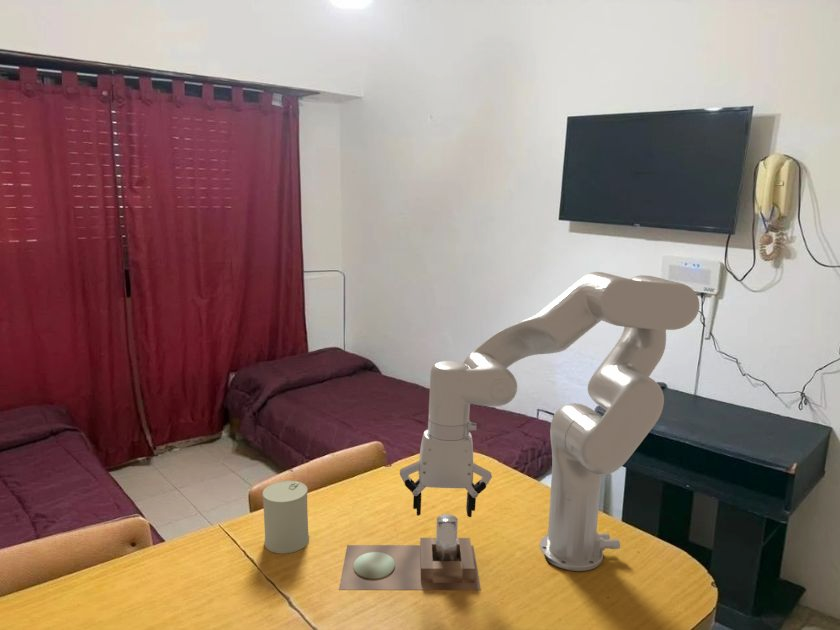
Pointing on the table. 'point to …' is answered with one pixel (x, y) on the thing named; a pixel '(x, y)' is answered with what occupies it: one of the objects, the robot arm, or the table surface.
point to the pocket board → (409, 567)
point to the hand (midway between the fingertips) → (443, 512)
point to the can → (285, 516)
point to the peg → (446, 538)
